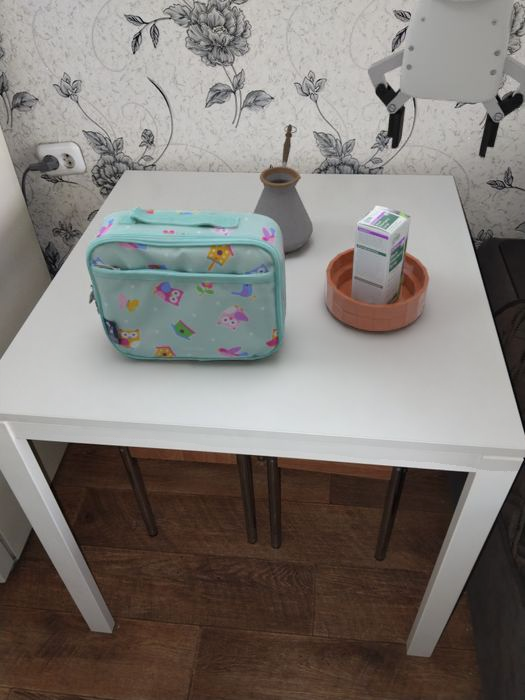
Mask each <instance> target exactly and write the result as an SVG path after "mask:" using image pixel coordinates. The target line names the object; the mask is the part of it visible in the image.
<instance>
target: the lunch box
mask: <svg viewBox="0 0 525 700" xmlns="http://www.w3.org/2000/svg"><path fill="white" fill-rule="evenodd" d="M253 213H254V212H253ZM253 213H252V212H240V211H228V210H227V211H226V210H225V211H222V210H199V209H198V210H197V209H196V210H195V209H194V210H193V209H192V210H191V209H165V208H164V209H160V208H158V209H152V208H151V209H148V208H147V209H142V208H141V207H139V206H135V207H134V208H133V209H128V210H120V211H115V212H112V213H109V214H107V215H105V217H104V218H103V219H102V220H101V222H100V226H99V229H98V232H97V233H96V234H95V236H94V238H93V240H92V241H91V242H90V243H89V244H88V246H87V249H86V252H85V263H86V267H87V271H88V274H89V277H90V280H91V284H90V288H91V291H90V293H89V300H88V304H90V305H91V304H92V303H93V301H94V304H95V307H96V311H97V314H98V315H99V317H100V320H101V324H102V327H103V331H104V332H105V335H106V337H107V339H108V341H109V342H110V344H111V345H112V346H113V348H114V349H115V350H116V351H117V352H118V353H120V354H121V355H123V356H125V357H127V358H131V359H136V360H137V359H138V360H160V361H162V360H164V361H165V360H166V361H199V362H201V361H202V362H204V361H205V362H206V361H216V360H217V361H218V360H219V361H226V360H228V361H230V360H231V361H232V360H233V361H234V360H240V361H248V360H249V361H251V360H259V359H263V358H266V357H269V356H270V355H272V354H274V353H275V352H276V351H278V350H279V348H280V347H281V345H282V343H283V339H284V333H285V322H286V314H287V282H286V281H287V280H286V279H287V277H286V275H287V274H286V259H285V253H284V244H283V238H282V233H281V230H280V228H279V226H278V224H277V223H276V222H275V221H274V220H273V219H271V218H269V217H267V216H264V215H260V214H253Z"/></svg>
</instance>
